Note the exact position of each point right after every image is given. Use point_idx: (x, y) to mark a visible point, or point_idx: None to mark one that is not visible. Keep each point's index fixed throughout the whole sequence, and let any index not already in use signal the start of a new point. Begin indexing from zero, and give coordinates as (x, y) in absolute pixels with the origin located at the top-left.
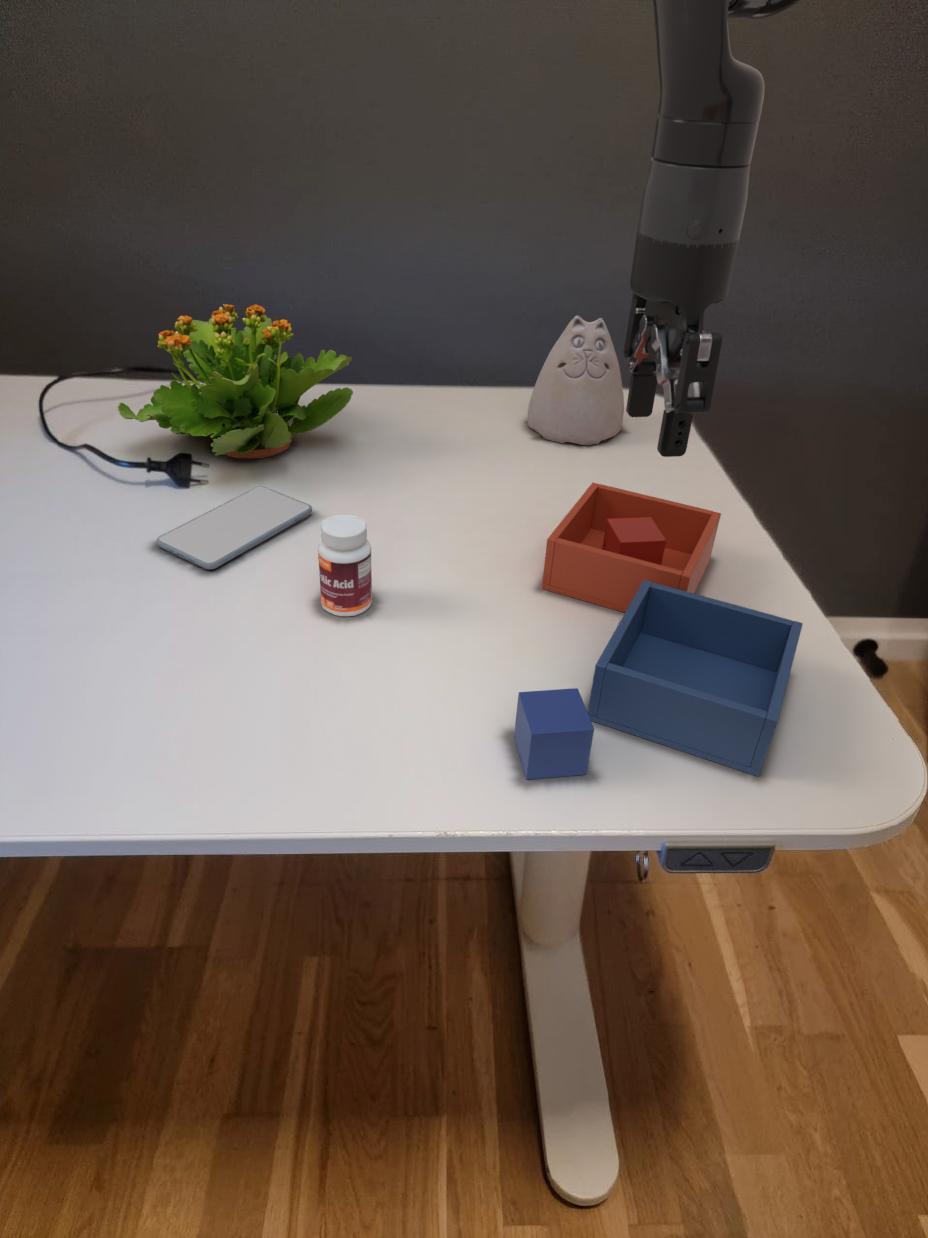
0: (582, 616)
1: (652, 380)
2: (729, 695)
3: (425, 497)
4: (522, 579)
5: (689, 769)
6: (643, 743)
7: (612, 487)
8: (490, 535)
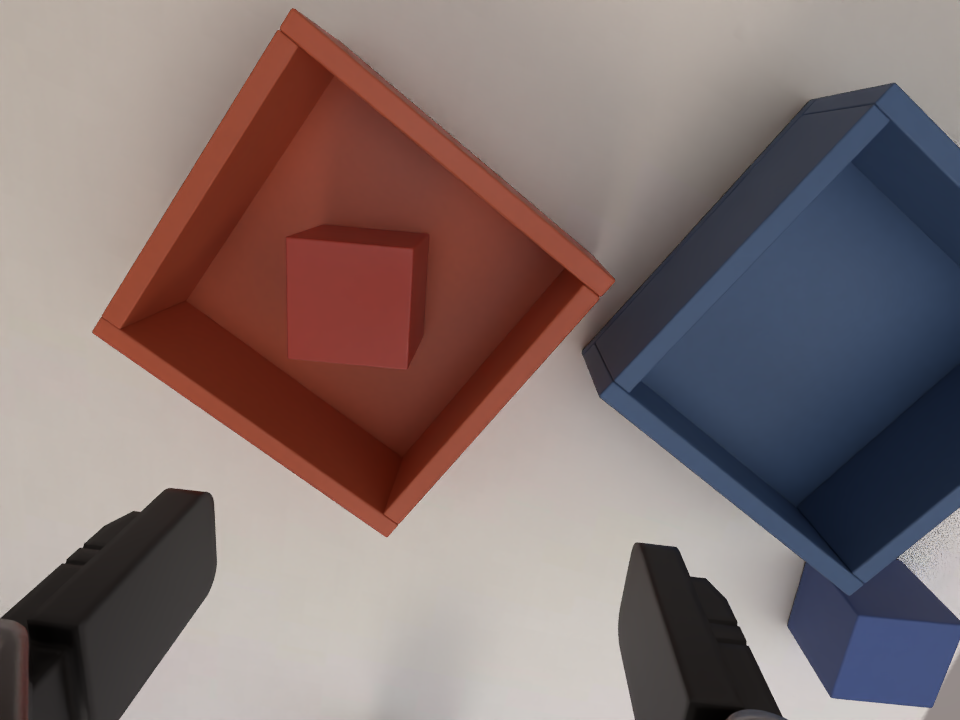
0: (512, 428)
1: (101, 631)
2: (843, 268)
3: None
4: None
5: None
6: None
7: (123, 289)
8: None
